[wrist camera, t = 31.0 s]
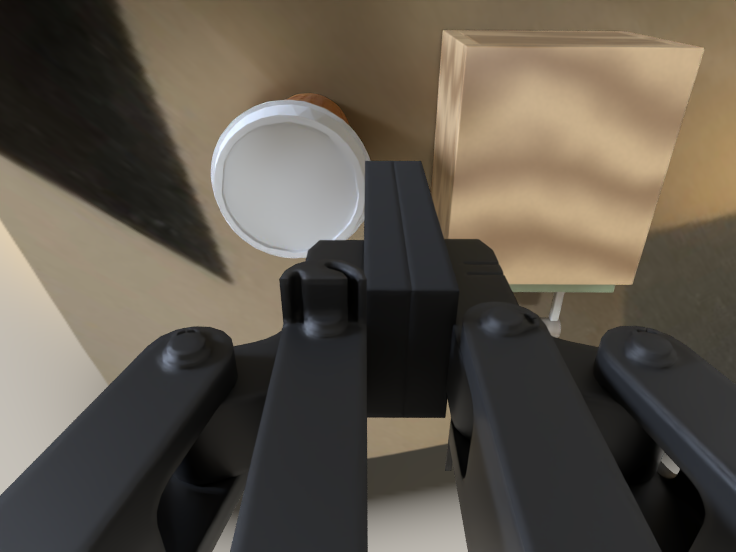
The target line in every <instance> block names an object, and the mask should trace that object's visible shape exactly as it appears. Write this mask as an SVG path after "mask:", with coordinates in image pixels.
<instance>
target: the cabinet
mask: <svg viewBox="0 0 736 552" xmlns="http://www.w3.org/2000/svg"><path fill="white" fill-rule="evenodd" d="M703 53H704V48H703V47H698V46H694V45H689V44H684V43H679V42H674V41H670V40H665V39H660V38H655V37H650V36H646V35H641V34H636V33H631V32H627V31H524V30H443V33H442V47H441V61H440V75H439V89H438V103H437V117H436V131H435V145H434V159H433V173H432V187H431V196H432V200H433V203H434V206H435V210H436V213H437V217H438V220H439V223H440V227H441V230H442V233H443V237H444V239H479V240H481V241H482V242H483V243H485V244H486V245H487V246H489V247H490V248H491V249H493V251H494V253H495V255H496V257H497V260H498V262H499V265H500V266H501V268H502V270H503V275H505V277H506V279H507V281H508V283H509V284H583V285H632V283H633V280H634V277H635V274H636V270H637V267H638V264H639V261H640V257H641V254H642V251H643V248H644V244H645V241H646V238H647V235H648V231H649V228H650V225H651V222H652V218H653V215H654V212H655V209H656V205H657V202H658V199H659V196H660V192H661V189H662V186H663V183H664V179H665V176H666V173H667V170H668V166H669V163H670V160H671V157H672V153H673V150H674V147H675V144H676V140H677V137H678V134H679V131H680V127H681V124H682V121H683V118H684V114H685V111H686V108H687V105H688V101H689V98H690V95H691V92H692V88H693V85H694V82H695V79H696V75H697V72H698V69H699V66H700V62H701V59H702V56H703Z"/></svg>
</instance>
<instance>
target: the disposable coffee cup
mask: <svg viewBox="0 0 736 552" xmlns="http://www.w3.org/2000/svg"><path fill="white" fill-rule="evenodd" d="M365 161H371V160H370V158H369V155H368V153H367V151H366V149H365V147H364V145H363V143H362V141H361V140H360V139H359V137H358V136H357V134H356V133H355V132H354V130H353V129H352V128H351V127H350V125H349V122H348V120H347V118H346V116H345V114H344V113H343V111H342V110H341V109H340V107H339V106H337V105H336V104H335V103H334V102H333V101H331V100H330V99H328V98H327V97H324V96H321V95H319V94H313V93H303V94H297V95H294V96H292V97H290V98H288V99H286V100H279V101H270V102H266V103H263V104H260V105H257V106H255V107H252V108H250V109H249V110H247V111H245V112H244V113H242V114H240V115H239V116H238V117H237V118H236V119H234V120H233V121H232V122H231V123H230V124H229V126H228V127H227V128H226V130H225V131H224V132H223V133H222V135H221V136H220V138H219V141H218V143H217V145H216V147H215V150H214V154H213V158H212V163H211V181H212V188H213V191H214V195H215V199H216V201H217V203H218V205H219V208H220V211H221V213H222V214H223V216H224V218H225V219H226V221H227V223H228V224H229V225H230V226H231V228H232V229H233V230H234V232H235V233H236V234H238V235H239V236H240V237H241V238H242V239H243V240H244V241H246V242H247V243H249V244H250V245H252V246H253V247H254V248H257V249H259V250H261V251H264V252H266V253H268V254H271V255H275V256H279V257H285V258H306V257H307V252H308V250H309V249H310V248H311V247H312V246H314V245H315V244H316V243H317V242H318V241H319V240H347V239H348V238H349V237H350V236H351V235H352V234H353V233H354V232H356V231H357V229H358V228H359V226H360V225H361V223H362V222H363V220H364V208H365Z"/></svg>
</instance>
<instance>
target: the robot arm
mask: <svg viewBox="0 0 736 552" xmlns="http://www.w3.org/2000/svg"><path fill="white" fill-rule="evenodd" d="M279 280H280V291H281V301H282V312H283V323H284V324H283V328H282V331H280V332H279V333H278V334H276V335H274V336H271V337H269V338H267V339H264V340H260V341H257V342H253V343H248V344H243V345H238V346H233V343H232V339H231V338H230V337H229V336H228V335H227V334H226V333H225V332H223V331H221V330H218V329H215V328H212V327H188V328H183V329H178V330H175V331H172V332H170V333H168V334H165V335H163V336H161V337H159V338H158V339H157V340H155V341H154V342H152V343H151V344H150V345H148V346H147V347H146V348H145V349H144V350H143V351H142V352H141V353H140V354H139V355H138V356H137V358H136V359H135V360H134V361H133V362H132V363H131V364H130V365H129V366H128V367H127V368H126V369H125V370H124V371H123V372H122V373H121V374H120V375H119V376H118V377H117V378H116V379H115V380H114V381H113V382H112V383H111V384H110V385H109V386H108V387H107V388H106V389H105V390H104V391H103V392H102V393H101V394H100V395H99V396H98V397H97V398H96V399H95V400H94V401H93V402H92V403H91V404H90V405H89V406H88V407H87V408H86V409H85V410H84V411H83V412H82V413H81V414H80V415H79V416H78V417H77V419H75V420H74V421H73V422H72V424H70V425H69V426H68V428H67V429H66V430H65V431H64V432H63V433H62V434H61V435H60V436H59V437H58V438H57V439H56V440H55V441H54V442H53V443H52V444H51V445H50V446H49V447H48V448H47V449H46V450H45V451H44V452H43V453H42V454H41V455H40V456H39V457H38V458H37V459H36V460H35V461H34V462H33V463H32V464H31V465H30V466H29V467H28V468H27V469H26V470H25V471H24V472H23V473H22V474H21V475H20V476H19V477H18V478H17V479H16V480H15V482H13V483H12V484H11V485H10V486H9V487H8V488H7V489H6V490H5V491H4V492H3V493H2V494H1V496H0V552H212V551H213V549H214V547H215V545H216V543H217V541H218V539H219V538H220V536H221V533H222V532H223V530H224V528H225V526H226V524H227V522H228V520H229V518H230V516H231V515H232V513H233V511H234V509H235V507H236V505H237V503H238V501H239V499H240V497H241V495H242V493H243V491H244V494H243V499H242V503H241V507H240V512H239V516H238V520H237V524H236V529H235V533H234V537H233V541H232V546H231V550H230V552H368V547H367V546H368V545H367V544H368V543H367V417H383V418H445V416H446V407H447V398H448V403H449V408H450V413H451V423H450V431H449V439H448V448H447V456H446V466H445V471H451V470H452V462H453V468H454V474H455V479H456V485H457V491H458V497H459V502H460V508H461V514H462V520H463V525H464V531H465V537H466V543H467V548H468V552H736V384H734V383H733V382H732V381H731V380H729V379H728V378H727V377H726V376H724V375H723V374H722V373H721V372H719V371H718V370H717V369H716V368H714V367H713V366H712V365H710V364H709V363H708V362H707V361H705V360H704V359H703V358H702V357H700V356H699V355H698V354H697V353H695V352H694V351H693V350H692V349H690V348H689V347H688V346H687V345H685V344H683V343H682V342H680V341H679V340H677V339H675V338H674V337H672V336H670V335H667V334H665V333H662V332H659V331H657V330H655V329H651V328H645V327H639V326H619V327H616V328H613V329H610V330H608V331H607V332H606V333H605V334H604V335H603V337H602V338H601V342H600V345H599V347H595V346H590V345H585V344H580V343H575V342H570V341H566V340H562V339H559V338H555V337H553V336H551V334H550V332H549V330H548V328H547V326H546V324H545V323H544V322H543V321H542V319H541V318H540V317H539V316H538V315H537V314H535V313H533V312H532V311H530V310H528V309H527V308H525V307H521V306H519V305H518V303H517V301H516V298H515V296H514V294H513V292H512V290H511V288H510V285H509V283H508V281H507V279H506V277H505V275H503V270H502V268H501V266H500V265H499V262H498V260H497V257H496V255H495V253H494V251H493V249H491V248H490V247H489V246H487V245H486V244H485V243H483V242H482V241H481V240H479V239H444V237H443V233H442V230H441V227H440V223H439V220H438V217H437V213H436V210H435V206H434V203H433V200H432V196H431V193H430V190H429V186H428V183H427V179H426V176H425V173H424V169H423V166H422V163H421V161H365V208H364V240H319V241H318V242H317V243H316V244H315V245H314V246H312V247H311V248H310V249H309V250H308V252H307V257H306V261H305V262H301V263H298V264H295V265H294V266H292V267H290V268H289V269H287V270H285V272H284V273H283V274H282V276H281V277H280V279H279ZM664 452H665V453H666V454H667V455H668V456H669V457H670V458H671V459H672V460H673V461H674V463H675V464H676V465H677V466H678V467H679V468H680V471H679V473H678V474H674V473H673V472H671V471H670V470H669V469H668V468H667V467H666V466H665V465H664V464H663V463H662V462H661V459H662V457H663V454H664Z"/></svg>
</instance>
